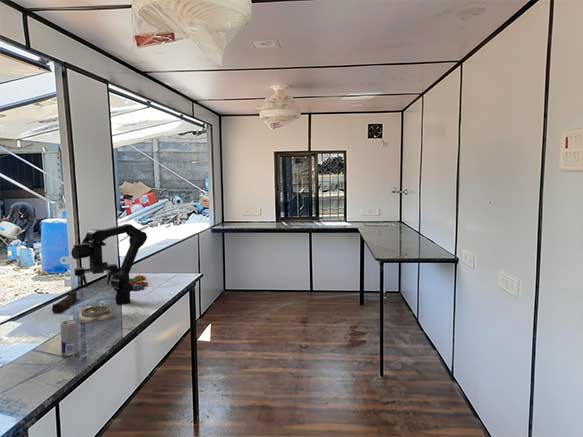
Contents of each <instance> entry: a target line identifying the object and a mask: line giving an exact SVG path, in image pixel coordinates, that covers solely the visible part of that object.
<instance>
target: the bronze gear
mask: <svg viewBox="0 0 583 437" xmlns="http://www.w3.org/2000/svg"><path fill="white" fill-rule="evenodd" d="M99 304H100V299H92V300H91V306H92V309H89V310H88V311H86V313H99V312H102V311H105V309H102V308H99Z"/></svg>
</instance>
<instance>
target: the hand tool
mask: <svg viewBox="0 0 583 437" xmlns="http://www.w3.org/2000/svg"><path fill="white" fill-rule="evenodd" d="M77 293H78V292H77V290H76V289H75V290H72V291H70V292H68V293H67V295H66V297H65V298H63V299H61V300H60V301H58V302H56V303H54V304H52V306H51V309H52V310H51V311H52V312H53V314H54V313H55V314H58V313H62V312H63V311H64V310H65V309H66V308H67V307H68V306H70V305H71V304H74V303H75V302H77V300H78V294H77Z"/></svg>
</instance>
